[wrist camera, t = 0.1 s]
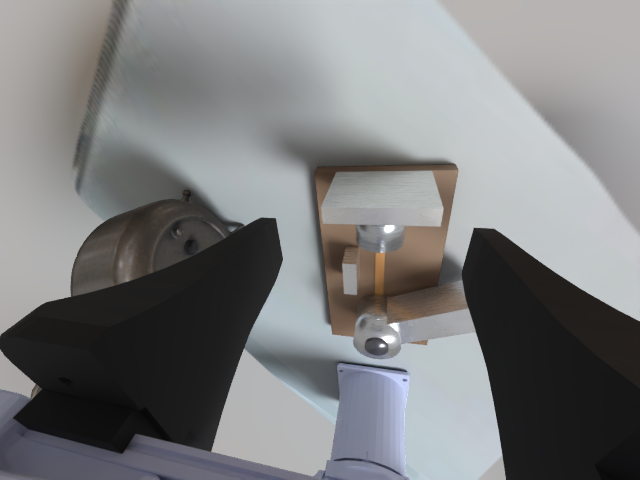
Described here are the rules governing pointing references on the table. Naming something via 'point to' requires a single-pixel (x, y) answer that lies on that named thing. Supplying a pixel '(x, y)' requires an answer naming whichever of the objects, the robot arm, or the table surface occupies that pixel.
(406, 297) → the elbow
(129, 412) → the robot arm
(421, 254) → the board
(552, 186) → the table surface
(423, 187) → the square plate with knob
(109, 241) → the alarm clock
